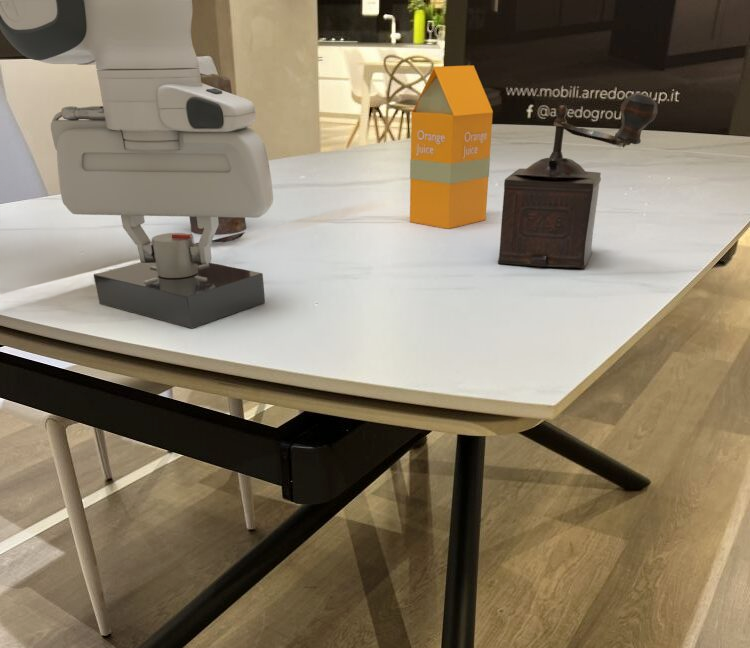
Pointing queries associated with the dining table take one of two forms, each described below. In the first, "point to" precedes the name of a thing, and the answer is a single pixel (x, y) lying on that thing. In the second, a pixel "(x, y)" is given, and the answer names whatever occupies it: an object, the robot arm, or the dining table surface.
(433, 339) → the dining table surface
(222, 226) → the rusty brown cylinder
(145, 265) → the dark grey flat block
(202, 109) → the robot arm
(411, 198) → the orange juice
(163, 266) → the knob
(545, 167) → the manual coffee grinder
